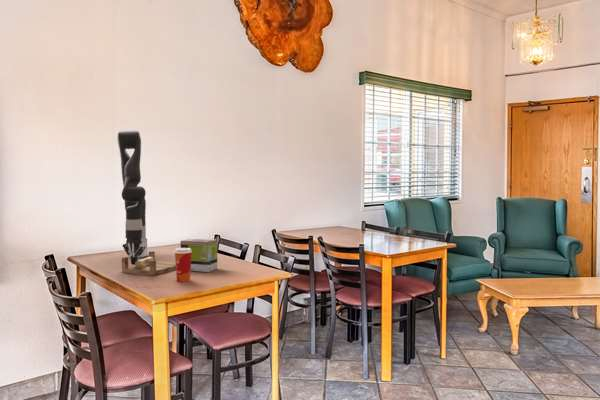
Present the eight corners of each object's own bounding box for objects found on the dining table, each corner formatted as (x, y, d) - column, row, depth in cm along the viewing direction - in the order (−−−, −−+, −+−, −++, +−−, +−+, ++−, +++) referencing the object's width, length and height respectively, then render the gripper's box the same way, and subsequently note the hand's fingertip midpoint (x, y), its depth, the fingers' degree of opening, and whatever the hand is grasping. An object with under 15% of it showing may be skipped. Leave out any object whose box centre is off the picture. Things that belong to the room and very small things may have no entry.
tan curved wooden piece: (151, 262, 242) (151, 254, 241) (156, 262, 241) (156, 254, 241) (135, 268, 227) (135, 260, 227) (139, 268, 227) (139, 260, 226)
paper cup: (176, 278, 215) (175, 247, 214) (193, 278, 216) (193, 247, 215) (172, 282, 207) (172, 250, 206) (191, 282, 208) (190, 250, 207)
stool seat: (151, 264, 246) (151, 251, 246) (181, 267, 238) (181, 253, 238) (122, 272, 228) (121, 257, 228) (153, 276, 220) (152, 260, 220)
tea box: (218, 268, 237) (217, 238, 236) (207, 272, 228) (207, 241, 227) (191, 266, 242) (191, 237, 241) (180, 270, 233) (179, 240, 232)
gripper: (150, 228, 229) (150, 264, 230) (129, 226, 235) (129, 261, 236) (138, 230, 222) (138, 267, 224) (117, 228, 228) (117, 264, 229)
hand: (134, 264), depth 230 cm, fingers closed
